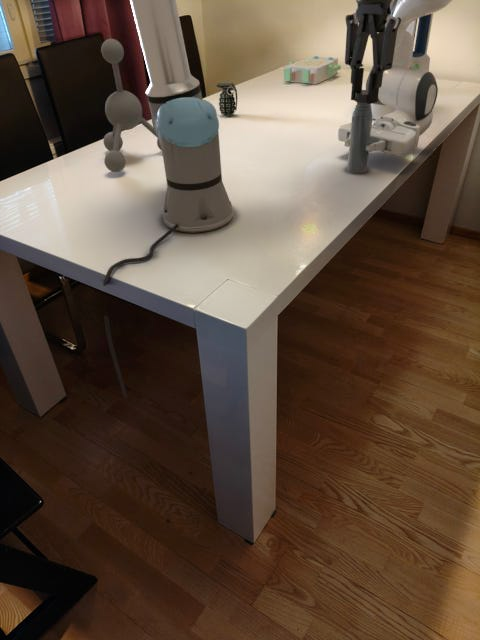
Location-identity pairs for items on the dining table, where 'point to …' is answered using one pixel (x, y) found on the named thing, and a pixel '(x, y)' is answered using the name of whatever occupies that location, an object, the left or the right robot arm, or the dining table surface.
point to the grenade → (227, 99)
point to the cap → (361, 96)
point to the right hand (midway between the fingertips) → (357, 146)
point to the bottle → (360, 138)
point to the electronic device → (421, 42)
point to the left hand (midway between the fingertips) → (363, 100)
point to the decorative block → (311, 70)
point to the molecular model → (120, 110)
